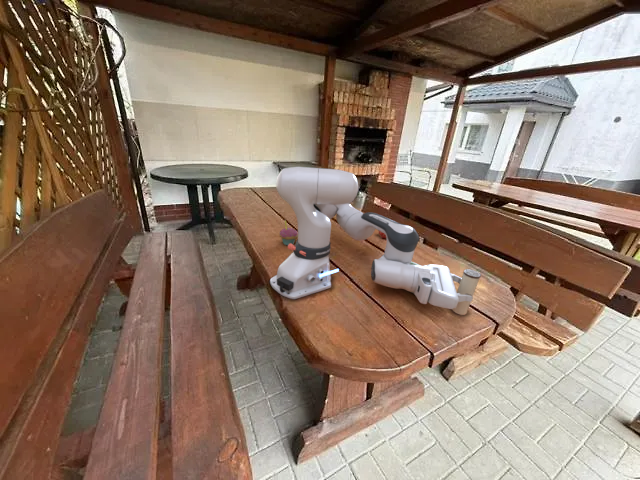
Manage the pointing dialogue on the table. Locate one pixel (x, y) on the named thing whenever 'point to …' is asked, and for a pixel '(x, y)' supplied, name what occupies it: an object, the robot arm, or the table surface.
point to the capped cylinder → (467, 289)
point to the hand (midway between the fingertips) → (468, 289)
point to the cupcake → (288, 235)
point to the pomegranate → (382, 234)
